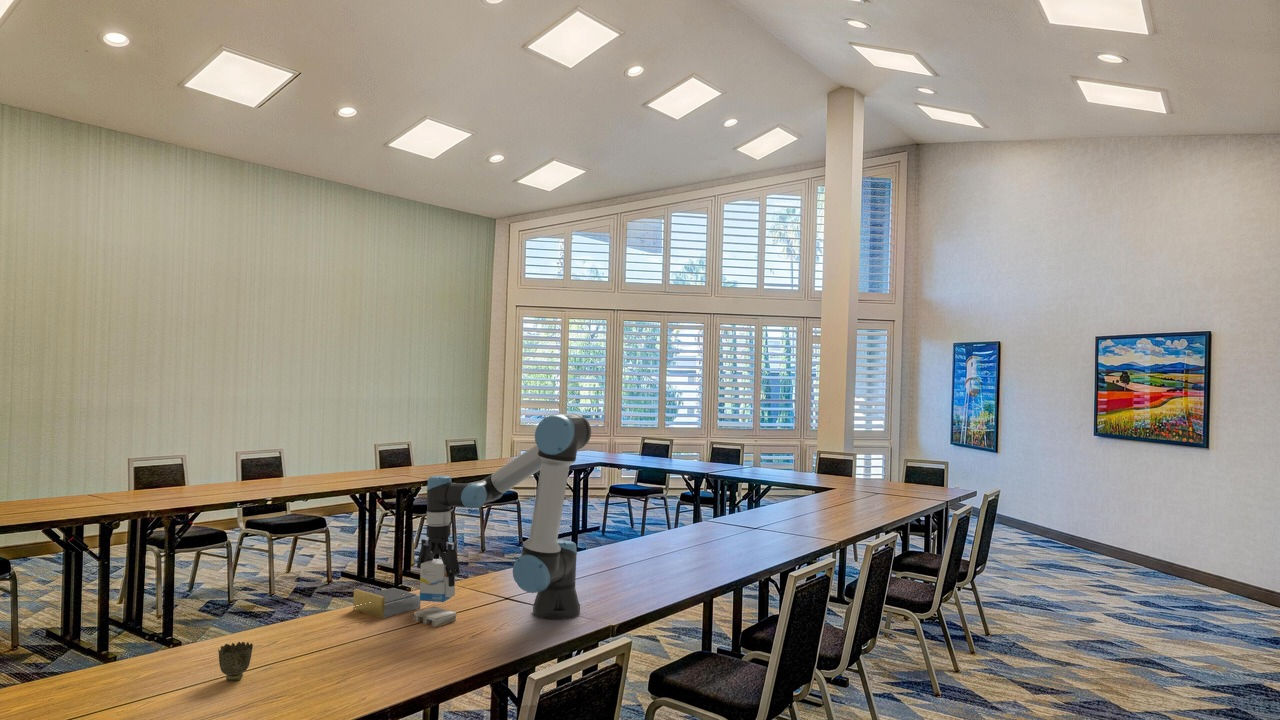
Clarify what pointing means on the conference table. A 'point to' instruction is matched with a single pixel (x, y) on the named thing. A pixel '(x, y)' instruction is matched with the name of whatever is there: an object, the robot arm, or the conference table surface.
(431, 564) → the ink box
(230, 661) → the cup
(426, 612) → the block
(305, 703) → the conference table surface
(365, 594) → the dock
